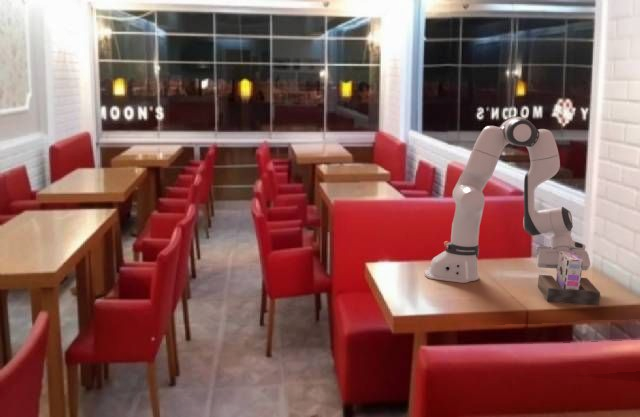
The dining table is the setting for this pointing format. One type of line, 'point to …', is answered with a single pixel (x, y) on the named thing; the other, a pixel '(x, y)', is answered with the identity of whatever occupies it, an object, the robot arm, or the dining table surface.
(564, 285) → the candy box
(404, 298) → the dining table surface
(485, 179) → the robot arm
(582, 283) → the cradle
